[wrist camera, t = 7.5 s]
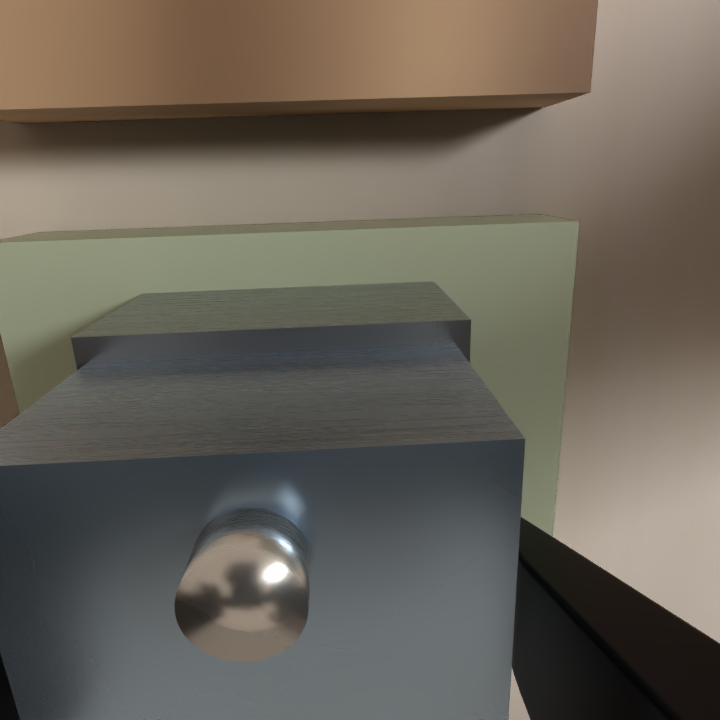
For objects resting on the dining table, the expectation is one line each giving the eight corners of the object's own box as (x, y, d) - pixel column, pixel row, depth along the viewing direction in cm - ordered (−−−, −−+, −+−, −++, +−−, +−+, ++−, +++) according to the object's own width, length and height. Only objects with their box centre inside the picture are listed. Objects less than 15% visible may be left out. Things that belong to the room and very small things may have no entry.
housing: (431, 609, 12) (527, 1027, 6) (193, 624, 12) (55, 1067, 6) (433, 281, 10) (585, 436, 4) (142, 293, 10) (-154, 473, 4)
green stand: (538, 214, 12) (579, 221, 10) (515, 581, 14) (543, 643, 12) (39, 231, 11) (-21, 243, 9) (114, 604, 14) (80, 672, 12)
